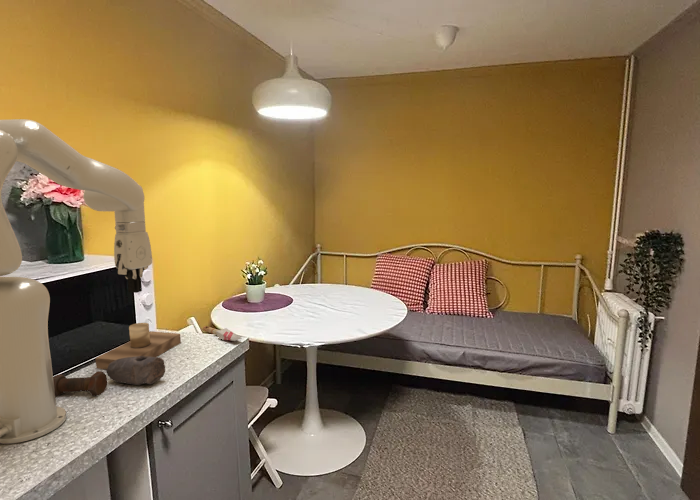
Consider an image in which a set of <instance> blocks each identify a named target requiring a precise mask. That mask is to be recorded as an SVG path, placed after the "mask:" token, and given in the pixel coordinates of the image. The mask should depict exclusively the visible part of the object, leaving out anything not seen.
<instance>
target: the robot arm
mask: <svg viewBox="0 0 700 500" xmlns="http://www.w3.org/2000/svg"><path fill="white" fill-rule="evenodd" d="M17 162H19V163H22V164H24V165H27V166H28V167H30V168H31V169H33V170H35V171H37V172H38V173H40V174H41V175H43V176H44V177H46V178H48V179H49V180H51V181H53V182H54V183H55V184H57V185H60V186H63V187H66V188H70V189H74V190H79V191H83V200H84V203H85V205H86V206H87V207H88V208H90V209H91V210H94V211H96V212H114V223H115V227H114V229H115V236H114V243H113V244H114V245H113V257H114V259H113V261H114V266H115V268H116V270H117V274H118V275H124V277H125V279H126V280H127V287H128V288H127V289H128V293H135V294H137V293H140V292H142V291H143V287H142V286H143V285H142V278H143V275H144V274H143V273H144V271H146V270H147V269H149V266H151V265H152V263H153V252H152V247H151V241H150V237H149V233H148V232H147V231H146V217H145V216H146V215H145V193H144V188H143V187H142V186H141V185H140V184H139V183H138V182H137V181H136V180H135V179H133V177H131V176H130V175H129V174H127V173H125V171H122V170H120V169H119V168H116V167H114V166H111V165H109V164H107V163H103V162H101V161H100V160H96V159H93V158H92V157H87V156H85V155H83V153H82V154H81V153H80V152H78V151H77V149H75V148H73V147H72V145H69V144H68V143H67V142H66V141H64V140H63V139H62V138H60V137H59V136H58V135H56V134H55V133H54V132H52V131H51V130H50V129H48V128H47V127H46V126H45V125H43V124H42V123H40V122H37V121H36V120H33V119H24V118H22V119H21V118H20V119H16V118H15V119H0V444H4V445H5V444H19V443H22V442H28V441H31V440H34V439H37V438H40V437H43V436H45V435H47V434H49V433H51V432H53V431H54V430H56V429H58V428H59V427H60V426H61V425H63V423H64V422H65V421H66V420H67V411H66V409H65V408H63V407H61V406H57V401H56V396H55V389H54V381H53V377H54V375H53V374H54V373H53V367H52V366H53V365H52V358H51V357H52V356H51V350H50V342H49V341H50V340H49V329H48V328H49V326H48V324H49V323H48V321H49V315H50V314H49V313H50V303H51V297H50V293H49V290H48V288H47V287H46V286H45V285H44V284H43V283H41V282H40V281H39V280H36V279H33V278H29V277H22V276H7V275H10V274H12V273H15V272H16V271H17V270H18V269H19V268H20V267H21V265H22V262H23V254H22V250H21V247H20V244H19V241H18V238H17V236H16V234H15V231H14V229H13V227H12V224H11V222H10V220H9V217H8V215H7V212H6V210H5V207H4V204H3V200H2V189H3V185H4V183H5V181H6V178H7V177H8V175H9V173H10V172H11V170H12V169H13V168H14V166H15V164H16V163H17Z"/></svg>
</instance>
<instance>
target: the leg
mask: <svg viewBox="0 0 700 500" xmlns="http://www.w3.org/2000/svg"><path fill="white" fill-rule="evenodd" d="M128 330H129V333H128V334H129V341H130V344H131V348H144V347H147V346H149V345H150V334H149V332H150V324H149V323H148V322H137V323H132V324H130V325H129V326H128Z"/></svg>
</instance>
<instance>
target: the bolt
mask: <svg viewBox="0 0 700 500" xmlns="http://www.w3.org/2000/svg"><path fill="white" fill-rule="evenodd" d="M107 377H108V375H107V373H105V372H104V371H101V370H99V371H96V372H95V373H93V374H92V375H91V376H88V377H66V376H65V375H64V374H56V375H53V381H54V389H55V397H59V396H61V395H62V394H64V393H75V392H76V393H77V392H82V393H83V392H87V393H88V392H89V394H90V395H91V396H92V397H99V396H101V395H103V393H104V392H105V391H106V389H107V386H108V378H107Z"/></svg>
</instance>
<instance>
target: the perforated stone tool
mask: <svg viewBox="0 0 700 500" xmlns="http://www.w3.org/2000/svg"><path fill="white" fill-rule="evenodd" d="M165 373H166V365H165V360H164V359H163V358H161V357H159V356H157V357H149V356H137V357H127V358H121V359H117V360H115V361H113V362H111V363H110V364H109V365H108V368H107V370H106V376H107V377H108V379H109V378H110V379H111V381H113V382H116V383H120V384H122V383H124V384H127V385H134V386H135V385H136V386H139V385H143V384H147V385H153V384H154V383H155V382H159V381H160V380H161V379H162V378H163V377H164V375H165Z"/></svg>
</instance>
